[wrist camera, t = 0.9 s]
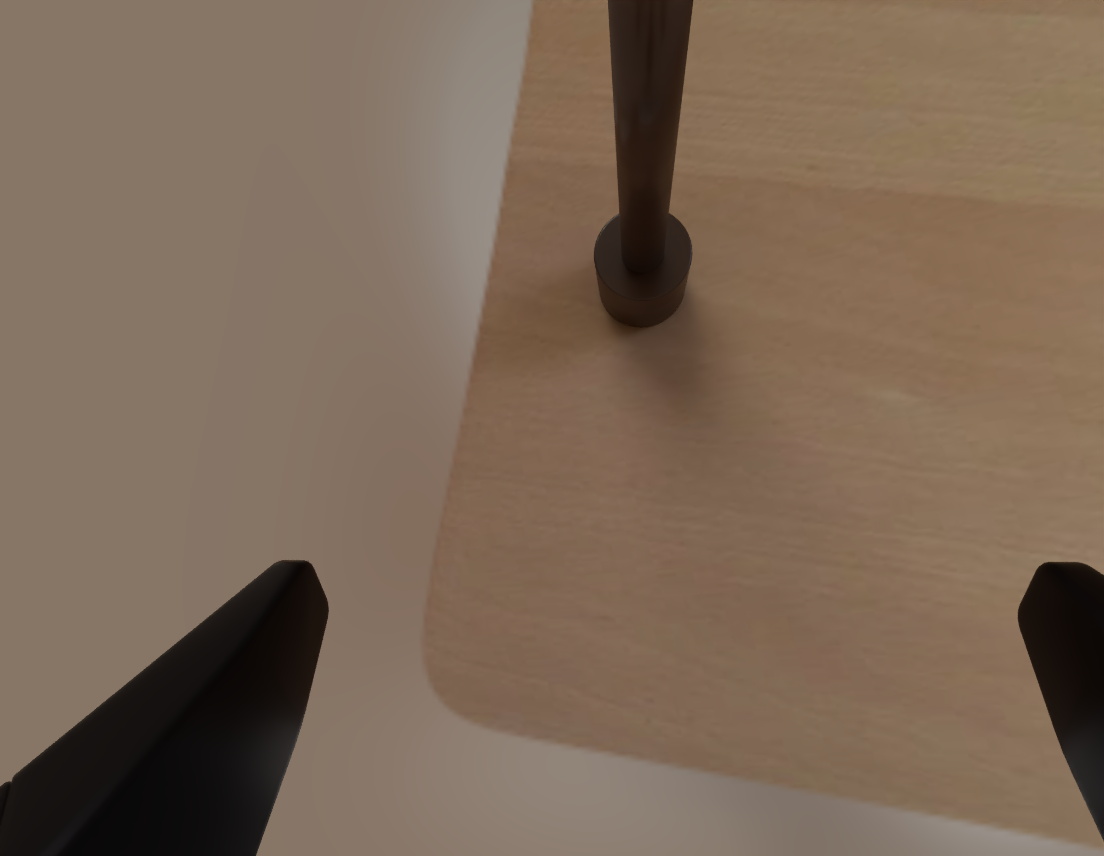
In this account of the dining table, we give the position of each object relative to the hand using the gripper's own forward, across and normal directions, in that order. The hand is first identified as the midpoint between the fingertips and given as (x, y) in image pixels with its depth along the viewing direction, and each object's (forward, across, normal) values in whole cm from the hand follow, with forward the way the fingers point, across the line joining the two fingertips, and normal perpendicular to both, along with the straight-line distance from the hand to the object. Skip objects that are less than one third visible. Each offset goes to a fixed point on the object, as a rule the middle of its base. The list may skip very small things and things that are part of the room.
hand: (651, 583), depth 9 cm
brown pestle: (+15, 0, +3) cm, 15 cm away
